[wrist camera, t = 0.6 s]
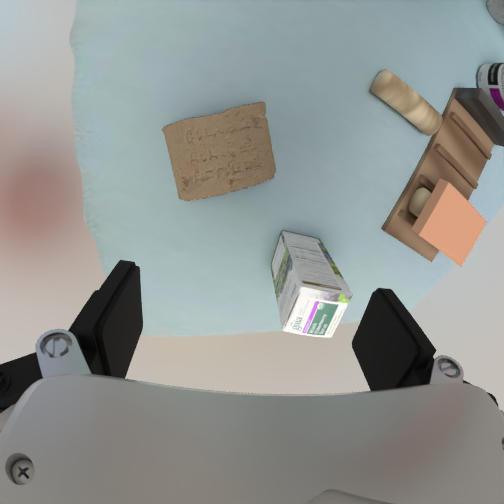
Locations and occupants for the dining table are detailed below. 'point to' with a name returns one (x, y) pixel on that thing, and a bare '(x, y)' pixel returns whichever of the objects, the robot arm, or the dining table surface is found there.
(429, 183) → the track
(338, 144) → the dining table surface
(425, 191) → the under roller
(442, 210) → the slab
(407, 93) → the roller
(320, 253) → the syrup box
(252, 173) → the clay tablet
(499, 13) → the house plant
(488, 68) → the supplement can
